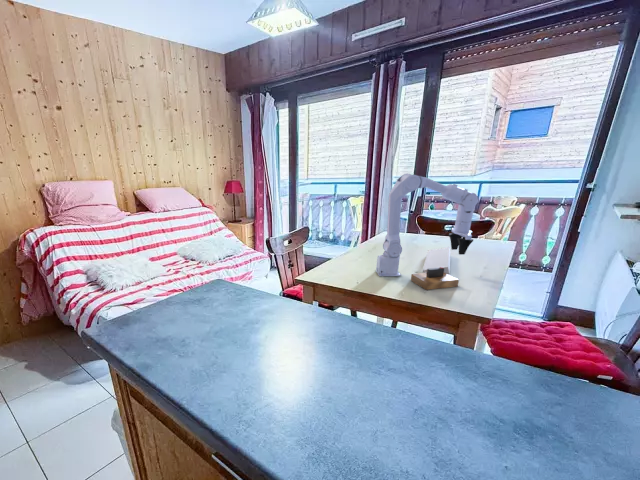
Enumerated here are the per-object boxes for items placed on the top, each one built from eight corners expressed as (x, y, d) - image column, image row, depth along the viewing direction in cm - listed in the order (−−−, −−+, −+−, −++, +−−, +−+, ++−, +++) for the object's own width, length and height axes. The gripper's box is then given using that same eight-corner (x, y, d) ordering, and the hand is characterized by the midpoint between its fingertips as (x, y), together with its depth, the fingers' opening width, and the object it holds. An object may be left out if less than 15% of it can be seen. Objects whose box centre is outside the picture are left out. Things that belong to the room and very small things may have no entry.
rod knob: (428, 278, 136) (429, 269, 134) (426, 276, 137) (427, 268, 136) (443, 276, 137) (444, 267, 135) (440, 275, 138) (442, 266, 137)
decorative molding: (424, 280, 148) (449, 277, 143) (422, 270, 147) (448, 266, 142) (429, 258, 175) (450, 255, 170) (427, 250, 174) (449, 246, 169)
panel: (425, 289, 132) (427, 282, 131) (410, 280, 143) (411, 273, 141) (457, 286, 134) (459, 279, 133) (440, 277, 144) (441, 270, 143)
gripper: (482, 224, 131) (475, 256, 137) (465, 217, 145) (460, 247, 150) (463, 224, 132) (457, 256, 138) (448, 218, 146) (443, 247, 151)
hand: (457, 251), depth 144 cm, fingers open, 7 cm apart
